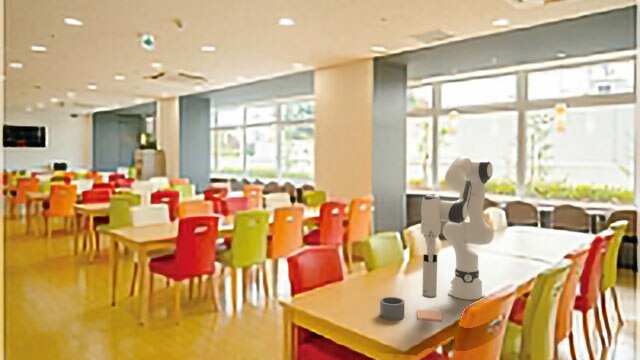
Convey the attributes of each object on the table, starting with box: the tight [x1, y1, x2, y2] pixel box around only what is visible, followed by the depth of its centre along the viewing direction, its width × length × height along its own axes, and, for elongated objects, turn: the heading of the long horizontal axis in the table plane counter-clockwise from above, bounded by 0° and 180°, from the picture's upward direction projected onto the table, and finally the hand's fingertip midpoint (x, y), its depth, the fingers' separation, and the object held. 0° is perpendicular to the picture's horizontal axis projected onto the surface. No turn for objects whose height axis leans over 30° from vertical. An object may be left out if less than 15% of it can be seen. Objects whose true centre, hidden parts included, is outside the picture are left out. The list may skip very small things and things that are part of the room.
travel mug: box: [422, 253, 438, 299], centre depth 212 cm, size 6×7×20 cm
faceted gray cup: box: [379, 296, 405, 321], centre depth 214 cm, size 11×11×7 cm
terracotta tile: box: [416, 309, 443, 322], centre depth 213 cm, size 11×11×1 cm
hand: (430, 259), depth 211 cm, fingers closed on travel mug, 6 cm apart
